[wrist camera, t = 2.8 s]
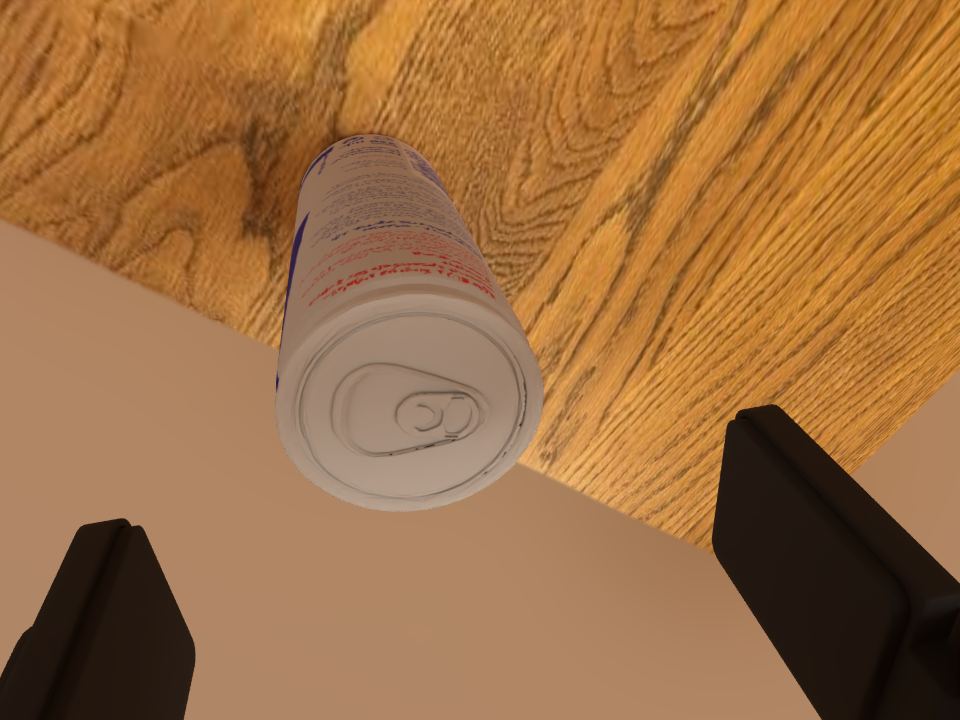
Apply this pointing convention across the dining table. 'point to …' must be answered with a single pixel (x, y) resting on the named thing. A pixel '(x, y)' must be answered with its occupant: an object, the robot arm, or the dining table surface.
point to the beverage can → (397, 339)
